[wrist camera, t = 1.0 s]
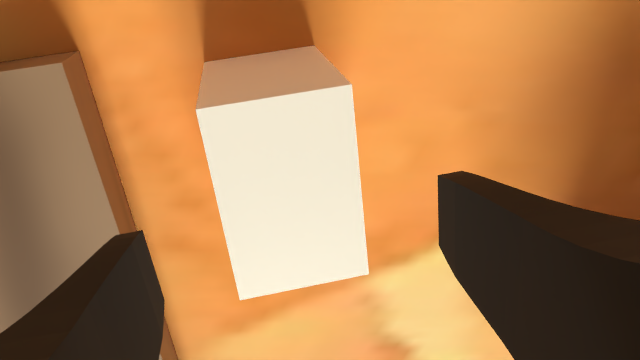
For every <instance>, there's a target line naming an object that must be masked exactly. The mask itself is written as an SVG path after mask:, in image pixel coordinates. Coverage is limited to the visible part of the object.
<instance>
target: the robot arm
mask: <svg viewBox="0 0 640 360" xmlns="http://www.w3.org/2000/svg"><path fill="white" fill-rule="evenodd" d="M438 218H439V246H440V248H441V250H442V252H443V254H444V256H445V258H446V260H447V262H448V264H449V266H450V268H451V270H452V272H453V273H454V275H455V277H456V278H457V280H458V281H459V283H460V284H461V285H462V287H463V288H464V290H465V291H466V292H467V294H468V295H469V297H470V298H471V299H472V301H473V302H474V304H475V305H476V306H477V308H478V309H479V310H480V312H481V313H482V314H483V316H484V317H485V319H486V320H487V321H488V323H489V324H490V325H491V327H492V328H493V329H494V331H495V332H496V334H497V335H498V336H499V338H500V339H501V340H502V342H503V343H504V345H505V346H506V348H507V349H508V351H509V352H510V354H511V355H512V357H513V358H514V360H640V221H638V220H633V219H627V218H622V217H617V216H612V215H607V214H603V213H598V212H594V211H589V210H585V209H581V208H577V207H573V206H570V205H567V204H563V203H560V202H556V201H553V200H549V199H546V198H543V197H540V196H537V195H534V194H531V193H528V192H525V191H522V190H519V189H516V188H513V187H510V186H508V185H505V184H502V183H499V182H496V181H493V180H491V179H488V178H485V177H482V176H479V175H475V174H472V173H468V172H464V171H459V172H453V173H448V174H442V175H438ZM163 325H164V297H163V294H162V291H161V288H160V285H159V281H158V278H157V275H156V272H155V269H154V266H153V262H152V259H151V256H150V253H149V250H148V247H147V243H146V240H145V237H144V234H143V231H142V230H141V231H135V232H130V233H125V234H119V235H115V236H114V237H113V238H111V239H110V240H109V241H108V242H106V243H105V244H104V245H103V246H102V247H101V248H100V249H99V250H98V251H97V252H95V253H94V254H93V255H92V256H91V257H90V258H89V259H88V260H87V261H86V262H85V263H84V264H83V265H82V266H80V267H79V268H78V269H77V270H76V271H75V272H74V273H73V274H72V275H71V276H70V277H69V278H68V279H66V280H65V281H64V282H63V283H62V284H61V285H60V286H59V287H57V288H56V289H55V290H54V291H53V292H52V293H50V294H49V295H48V296H47V297H46V298H45V299H43V300H42V301H41V302H40V303H39V304H37V305H36V306H35V307H34V308H33V309H32V310H30V311H29V312H28V313H27V314H25V315H24V316H23V317H22V318H20V319H19V320H18V321H16V322H15V323H14V324H12V325H11V326H10V327H8V328H7V329H6V330H4V331H3V332H1V333H0V360H159V355H160V350H161V344H162V339H163Z"/></svg>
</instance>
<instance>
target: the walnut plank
mask: <svg viewBox="0 0 640 360" xmlns="http://www.w3.org/2000/svg"><path fill="white" fill-rule="evenodd" d="M135 231H137V230H136V227H135V224H134V221H133V218H132V215H131V212H130V209H129V205H128V202H127V199H126V196H125V193H124V190H123V187H122V184H121V181H120V177H119V174H118V171H117V168H116V165H115V162H114V159H113V156H112V152H111V149H110V146H109V143H108V140H107V137H106V134H105V131H104V128H103V124H102V121H101V118H100V115H99V112H98V109H97V106H96V103H95V99H94V96H93V93H92V90H91V87H90V84H89V81H88V78H87V74H86V71H85V68H84V65H83V62H82V59H81V56H80V53H79V51H75V52H68V53H61V54H54V55H47V56H40V57H34V58H27V59H20V60H13V61H6V62H0V333H1V332H3V331H4V330H6V329H7V328H8V327H10V326H11V325H12V324H14V323H15V322H16V321H18V320H19V319H20V318H22V317H23V316H24V315H25V314H27V313H28V312H29V311H30V310H32V309H33V308H34V307H35V306H36V305H37V304H39V303H40V302H41V301H42V300H43V299H45V298H46V297H47V296H48V295H49V294H50V293H52V292H53V291H54V290H55V289H56V288H57V287H59V286H60V285H61V284H62V283H63V282H64V281H65V280H66V279H68V278H69V277H70V276H71V275H72V274H73V273H74V272H75V271H76V270H77V269H78V268H79V267H80V266H82V265H83V264H84V263H85V262H86V261H87V260H88V259H89V258H90V257H91V256H92V255H93V254H94V253H95V252H97V251H98V250H99V249H100V248H101V247H102V246H103V245H104V244H105V243H106V242H108V241H109V240H110V239H111V238H113V237H114V236H115V235H119V234H125V233H130V232H135ZM159 360H178V358H177V355H176V352H175V349H174V346H173V343H172V340H171V336H170V333H169V330H168V327H167V324H166V321H165V318H164V325H163V339H162V344H161V350H160V355H159Z"/></svg>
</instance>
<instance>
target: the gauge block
mask: <svg viewBox="0 0 640 360" xmlns="http://www.w3.org/2000/svg"><path fill="white" fill-rule="evenodd" d="M196 113H197V118H198V122H199V126H200V131H201V135H202V139H203V143H204V148H205V152H206V156H207V161H208V165H209V169H210V174H211V178H212V182H213V186H214V191H215V195H216V199H217V204H218V208H219V212H220V217H221V221H222V225H223V229H224V234H225V238H226V242H227V247H228V251H229V255H230V259H231V264H232V268H233V272H234V277H235V281H236V285H237V290H238V294H239V298H240V300H244V299H249V298H254V297H258V296H263V295H268V294H273V293H278V292H283V291H288V290H293V289H298V288H303V287H308V286H313V285H317V284H322V283H327V282H332V281H337V280H342V279H347V278H352V277H357V276H362V275H367V274H369V271H368V260H367V248H366V237H365V226H364V215H363V204H362V193H361V182H360V171H359V160H358V148H357V137H356V126H355V115H354V104H353V93H352V84H351V83H350V82H349V81H348V80H347V79H346V78H345V77H344V76H343V75H342V74H341V73H340V72H339V71H338V69H337V68H336V67H335V66H334V65H333V64H332V63H331V62H330V61H329V60H328V59H327V58H326V57H325V56H324V55H323V54H322V53H321V52H320V51H319V50H318V49H317V48H316V47H315V45H314V46H307V47H301V48H294V49H287V50H281V51H274V52H268V53H261V54H254V55H248V56H241V57H235V58H228V59H221V60H215V61H208V62H204V66H203V71H202V77H201V83H200V88H199V94H198V99H197V105H196Z"/></svg>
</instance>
